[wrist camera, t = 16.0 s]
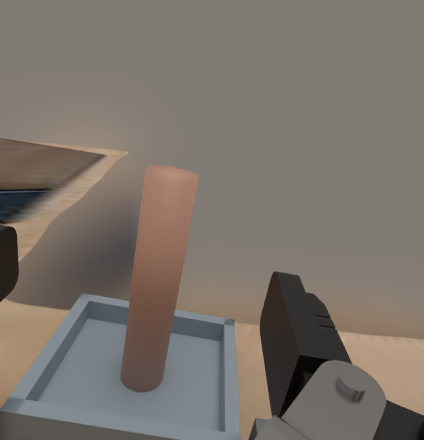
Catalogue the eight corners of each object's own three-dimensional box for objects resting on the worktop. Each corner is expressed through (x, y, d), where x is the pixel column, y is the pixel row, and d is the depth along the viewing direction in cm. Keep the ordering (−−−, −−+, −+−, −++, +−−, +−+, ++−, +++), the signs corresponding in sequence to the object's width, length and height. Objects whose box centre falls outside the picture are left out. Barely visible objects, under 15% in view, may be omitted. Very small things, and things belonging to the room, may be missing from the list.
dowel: (166, 362, 29) (200, 172, 23) (159, 395, 26) (196, 184, 20) (127, 356, 29) (151, 162, 23) (115, 388, 26) (139, 173, 20)
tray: (228, 344, 34) (234, 319, 33) (231, 481, 22) (240, 449, 21) (81, 318, 34) (82, 293, 33) (0, 444, 22) (-1, 410, 20)
